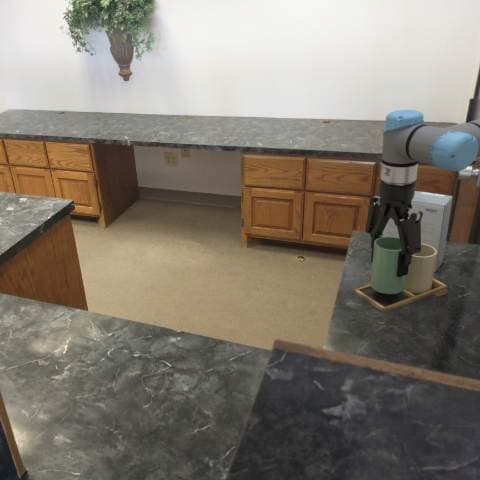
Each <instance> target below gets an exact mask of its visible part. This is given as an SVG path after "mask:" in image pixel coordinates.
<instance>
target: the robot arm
mask: <svg viewBox="0 0 480 480" xmlns="http://www.w3.org/2000/svg"><path fill="white" fill-rule="evenodd" d="M424 117H425V115H424V113H423V112H421V111H419V110H416V109H398V110H393V111H390V112H389V113H387V114H386V116H385V120H384V126H383V131H382V133H383V134H382V135H383V136H382V137H383V138H382V150H381V151H382V152H381V160H380V161H381V162H380V163H381V164H380V175H379V178H380V180H379V183H378V185H379V186H378V194H377V195H374V196H370V197H369V208H368V213H367V214H368V215H367V220H366V224H365V230H364V231H365V233H366V234H369V235H370V236H369V237H370V248H371V258H370V263H371V264H372V263H373V251H374V241H375V240H376V239H377V238H380V237H382V236H381V235H383V231H384V229H385V227H386V225H387V223H388V221H389V219H390V218H391V219H393V220H394V223H395V225H396V226H397V229H398V234H399V238H400V243H401V248H402V251H401V252H399V258H398V267H397V277H402V276H404V275H407V274H408V268H409V265H410V264H411V260H412V254H414V253H417V252H420V251H421V219H422V216H423V213H422V211H418V212H417V211H415V210H414V209H412V204H411V201H412V199H413V197H414V195H415V191H416V185H417V183H416V181H417V178H418V167H419V163H423V164H427V165H430V166H431V167H432V166H433V167H436V168H438V169H440V170H441V169H442V170H444V171H447V170H448V171H451V172H461V171H464V170H466V169H467V168H468V166H470V165H472V164H473V162H474V161H475V160H476V158H478V157H480V118H478V119H475V120H471V121H467V122H463V123H458V124H454V125H451V126H447V127H438V126H433V125H432V126H431V125H428V124H425V120H424ZM401 219H404V220H401ZM400 220H401V221H400ZM407 247H408V248H407Z"/></svg>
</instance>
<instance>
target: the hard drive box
mask: <svg viewBox="0 0 480 480" xmlns="http://www.w3.org/2000/svg"><path fill="white" fill-rule="evenodd" d="M453 198H454V196H453V195H449V194H440V193H432V192H427V191H420V190H419V191H418V190H415V195H414V197H413V199H412V201H411V204H412V209H414V210H415V211H417V212H418V211H422V213H423V216H422V219H421V243H422V244H427V245H430V246H432V247H434V248H435V249H436V250H437V255H436V261H435V268H434V273H436V272H437V271H438V270H439V268H440V267H441V265H442V264H443V262H444V259H445V258H444V257H445V251H446V246H447V245H446V244H447V239H448V230H449V224H450V218H451V217H450V216H451V209H452V203H453ZM401 220H404V219H401ZM401 220H400V221H401ZM381 236H382V237H387V236H391V237H398V238H399V234H398V229H397V226H396V225H395V223H394V220H393V219H391V218H390V219H389V221H388V223H387V225H386V227H385V229H384V231H383V235H381ZM381 236H380V237H381Z"/></svg>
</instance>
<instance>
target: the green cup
mask: <svg viewBox="0 0 480 480" xmlns="http://www.w3.org/2000/svg"><path fill="white" fill-rule="evenodd" d="M407 248H408V247H407ZM401 251H402V248H401V243H400V238H398V237H391V236H387V237H381V236H380V238H377V239H376V240H375V241H374V251H373V263H372V262H371V277H370V284H371V287H372V288H371V289H373V290H374V291H375V292H378V293H381V294H385V295H395V294H399V293H401V291H403V289H404V284H405V275H404V276H402V277H397V267H398V258H399V252H401Z"/></svg>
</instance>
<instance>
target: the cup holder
mask: <svg viewBox="0 0 480 480" xmlns="http://www.w3.org/2000/svg"><path fill="white" fill-rule="evenodd" d="M448 286H449V285H447V284H445V283H443V282H442V281H440V280H438V279H435V278H434V277H433V280H432V287H431V290H429V291H427V292H424V293H419V294H416V295H415V293H411V292H409V291H407V290H405V289H403V291H401V292H400V293H401V294H402V295H404V296H406V297H407V298H405V299H402V300H400V301H397V302H395V303H392V304H389V305H386V306H384V305H382V304H381V303H380V302H378V301H376V300H374V299H373V298H372V297H370V296H369V295H367V294H365V293H364V292H365V291H367V290H371V289H373V288H372V287H371V283H368V284H365V285H362V286H360V287H357V288H354V289H353V294H355V295H356V296H358V297H359V298H361V299H363V300H364V301H365V302H367V303H369V304H370V305H372V306H373V307H375V308H376V309H377V310H379V311H381V312H382V313H384V314H385V313H387V312H390V311H392V310H395V309H398V308H400V307H403V306H406V305H409V304H412V303H414V302H416V301H420V300H423V299H425V298H427V297H430V296H432V295H433V296H436V297H437V298H439V297H443V296H446V295H447V294H448V288H449V287H448Z"/></svg>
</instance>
